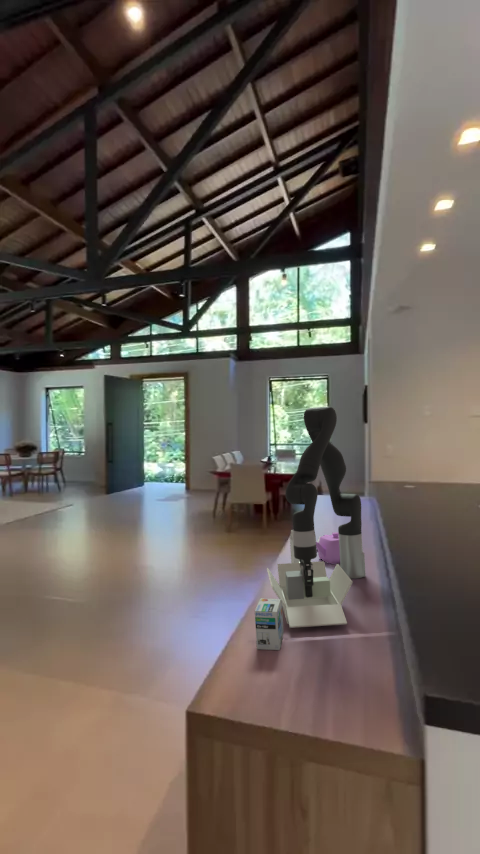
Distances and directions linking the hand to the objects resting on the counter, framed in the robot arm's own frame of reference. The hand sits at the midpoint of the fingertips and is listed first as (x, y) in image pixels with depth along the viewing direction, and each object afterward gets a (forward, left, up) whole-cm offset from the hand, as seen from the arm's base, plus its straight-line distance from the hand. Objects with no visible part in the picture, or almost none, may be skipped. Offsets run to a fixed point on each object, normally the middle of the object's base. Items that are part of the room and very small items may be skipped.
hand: (308, 594), depth 155 cm
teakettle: (-22, -59, -6) cm, 63 cm away
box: (0, 0, 0) cm, 0 cm away
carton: (0, +2, -6) cm, 6 cm away
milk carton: (-3, -40, -6) cm, 40 cm away
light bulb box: (+15, +20, -6) cm, 26 cm away
